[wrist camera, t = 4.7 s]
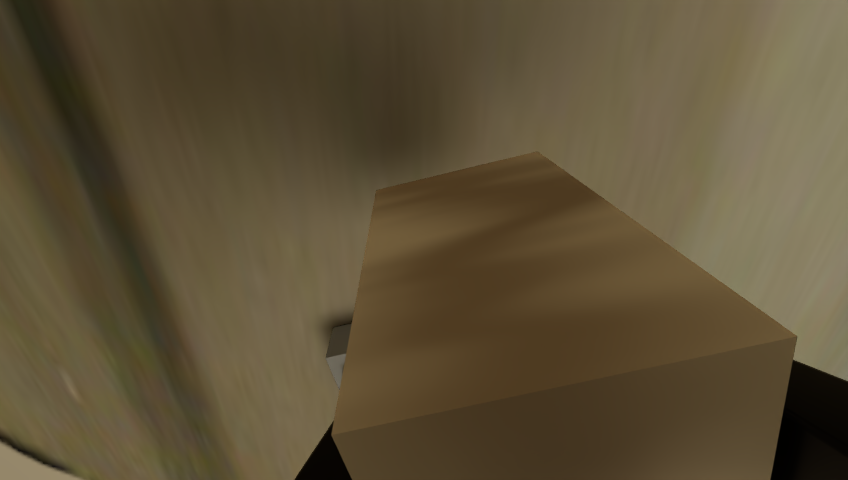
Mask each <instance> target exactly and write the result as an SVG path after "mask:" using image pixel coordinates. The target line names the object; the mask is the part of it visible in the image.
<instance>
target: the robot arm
mask: <svg viewBox="0 0 848 480" xmlns="http://www.w3.org/2000/svg"><path fill="white" fill-rule="evenodd" d="M333 423H334V421H333V422H332V424H331V425H330V427H329V428H328V430H327V431H326V433H325V434H324V436H323V437H322V439H321V440H320V442H319V443H318V445H317V446H316V448H315V449H314V451H313V452H312V454H311V455H310V457H309V458H308V460H307V461H306V463H305V464H304V466H303V467H302V469H301V470H300V472H299V473H298V475H297V477H296V478H295V480H352V478H351V476H350V474H349V472H348V470H347V468H346V466H345V463H344V461H343V459H342V457H341V455H340V453H339V450H338V448H337V446H336V444H335V442H334V440H333V438H332V435H331V434H332V429H333ZM770 480H848V381H846V380H843V379H841V378H838V377H836V376H833V375H831V374H828V373H826V372H823V371H820V370H818V369H815V368H813V367H810V366H808V365H805V364H803V363H800V362H798V361H795V360H793V362H792V367H791V372H790V378H789V383H788V388H787V394H786V399H785V404H784V409H783V415H782V420H781V425H780V431H779V436H778V441H777V447H776V452H775V457H774V463H773V468H772V473H771V479H770Z"/></svg>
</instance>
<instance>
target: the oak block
mask: <svg viewBox="0 0 848 480" xmlns="http://www.w3.org/2000/svg"><path fill="white" fill-rule="evenodd" d="M796 340H797V336H796V335H795V334H793V333H792V332H790V331H789V330H788V329H786V328H785V327H783V326H782V325H781V324H779V323H778V322H776V321H775V320H774V319H772V318H771V317H769V316H768V315H767V314H765V313H764V312H762V311H761V310H760V309H758V308H757V307H755V306H754V305H753V304H751V303H750V302H748V301H747V300H745V299H744V298H743V297H741V296H740V295H738V294H737V293H736V292H734V291H733V290H731V289H730V288H729V287H727V286H726V285H724V284H723V283H722V282H720V281H719V280H717V279H716V278H715V277H713V276H712V275H710V274H709V273H708V272H706V271H705V270H703V269H702V268H701V267H699V266H698V265H696V264H695V263H693V262H692V261H691V260H689V259H688V258H686V257H685V256H684V255H682V254H681V253H679V252H678V251H677V250H675V249H674V248H672V247H671V246H670V245H668V244H667V243H665V242H664V241H663V240H661V239H660V238H658V237H657V236H656V235H654V234H653V233H651V232H650V231H648V230H647V229H646V228H644V227H643V226H641V225H640V224H639V223H637V222H636V221H634V220H633V219H632V218H630V217H629V216H627V215H626V214H625V213H623V212H622V211H620V210H619V209H618V208H616V207H615V206H613V205H612V204H611V203H609V202H608V201H606V200H605V199H604V198H602V197H601V196H599V195H598V194H596V193H595V192H594V191H592V190H591V189H589V188H588V187H587V186H585V185H584V184H582V183H581V182H580V181H578V180H577V179H575V178H574V177H573V176H571V175H570V174H568V173H567V172H566V171H564V170H563V169H561V168H560V167H559V166H557V165H556V164H554V163H553V162H552V161H550V160H549V159H547V158H546V157H544V156H543V155H542V154H540V153H539V152H533V153H529V154H524V155H520V156H516V157H512V158H508V159H504V160H500V161H495V162H491V163H487V164H483V165H479V166H475V167H470V168H466V169H462V170H458V171H454V172H450V173H445V174H441V175H437V176H433V177H429V178H425V179H420V180H416V181H412V182H408V183H404V184H400V185H396V186H391V187H387V188H383V189H379V190H376V194H375V200H374V205H373V211H372V216H371V222H370V227H369V233H368V238H367V243H366V249H365V254H364V260H363V265H362V271H361V276H360V282H359V287H358V292H357V298H356V303H355V309H354V314H353V320H352V325H351V331H350V336H349V342H348V347H347V352H346V358H345V363H344V369H343V374H342V380H341V385H340V391H339V396H338V401H337V407H336V412H335V418H334V423H333V429H332V434H331V435H332V438H333V440H334V442H335V444H336V446H337V448H338V450H339V453H340V455H341V457H342V459H343V461H344V463H345V466H346V468H347V470H348V472H349V474H350V476H351V478H352V480H770V479H771V473H772V468H773V463H774V457H775V452H776V447H777V441H778V436H779V431H780V425H781V420H782V415H783V409H784V404H785V399H786V394H787V388H788V383H789V378H790V372H791V367H792V362H793V356H794V351H795V346H796Z"/></svg>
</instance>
